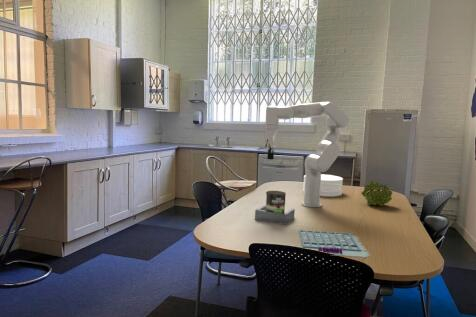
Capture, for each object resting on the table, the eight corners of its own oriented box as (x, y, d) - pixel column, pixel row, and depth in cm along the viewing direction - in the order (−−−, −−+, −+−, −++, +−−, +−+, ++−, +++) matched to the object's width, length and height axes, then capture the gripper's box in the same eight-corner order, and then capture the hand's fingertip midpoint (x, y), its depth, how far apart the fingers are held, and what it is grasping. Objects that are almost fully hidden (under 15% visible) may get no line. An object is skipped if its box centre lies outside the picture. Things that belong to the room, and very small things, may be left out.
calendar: (356, 236, 170) (356, 231, 169) (373, 259, 142) (374, 253, 141) (298, 233, 172) (298, 228, 172) (304, 254, 144) (304, 249, 144)
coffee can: (287, 221, 189) (288, 194, 187) (268, 221, 186) (269, 194, 185) (280, 215, 199) (282, 190, 197) (262, 216, 196) (263, 190, 195)
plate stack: (295, 189, 274) (296, 174, 273) (325, 187, 286) (326, 173, 285) (318, 197, 249) (319, 181, 248) (350, 195, 261) (351, 179, 260)
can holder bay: (265, 213, 202) (265, 204, 201) (294, 218, 194) (294, 209, 194) (254, 219, 190) (255, 209, 189) (285, 224, 182) (286, 214, 182)
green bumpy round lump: (382, 194, 243) (397, 182, 230) (383, 214, 234) (398, 202, 221) (358, 185, 242) (372, 172, 229) (357, 204, 232) (372, 192, 219)
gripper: (270, 127, 218) (269, 157, 220) (260, 127, 205) (259, 159, 207) (282, 128, 215) (280, 158, 217) (273, 128, 201) (271, 160, 203)
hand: (270, 159), depth 212 cm, fingers closed
